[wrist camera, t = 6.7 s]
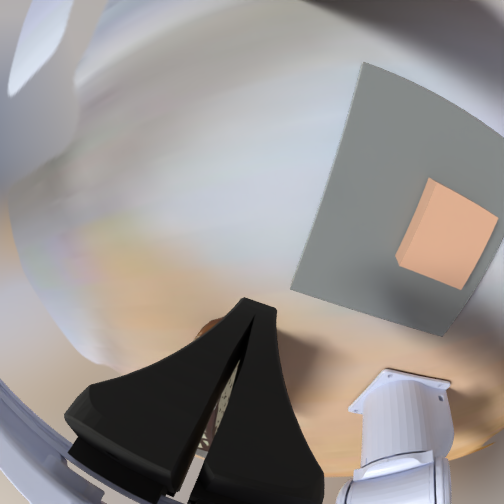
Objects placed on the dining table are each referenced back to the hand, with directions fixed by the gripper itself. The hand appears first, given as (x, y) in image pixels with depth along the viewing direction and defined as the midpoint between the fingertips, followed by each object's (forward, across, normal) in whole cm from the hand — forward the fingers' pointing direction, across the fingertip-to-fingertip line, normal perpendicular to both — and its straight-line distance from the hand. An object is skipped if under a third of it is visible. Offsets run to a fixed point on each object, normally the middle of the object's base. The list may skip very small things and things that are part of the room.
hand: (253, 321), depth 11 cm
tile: (+8, -7, -4) cm, 11 cm away
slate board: (+10, -8, -4) cm, 14 cm away
